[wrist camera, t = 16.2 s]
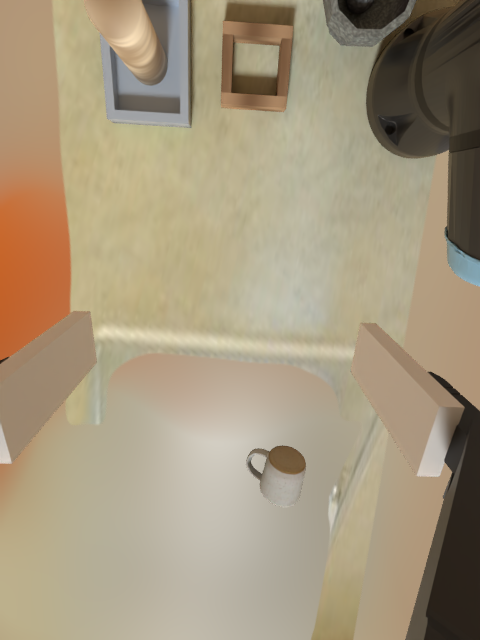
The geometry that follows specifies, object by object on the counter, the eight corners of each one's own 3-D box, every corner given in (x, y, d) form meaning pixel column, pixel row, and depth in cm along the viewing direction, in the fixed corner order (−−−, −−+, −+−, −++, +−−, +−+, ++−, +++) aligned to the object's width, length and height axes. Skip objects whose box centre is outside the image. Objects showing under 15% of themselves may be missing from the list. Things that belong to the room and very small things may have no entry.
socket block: (290, 33, 39) (293, 25, 37) (283, 111, 42) (286, 108, 40) (223, 29, 39) (223, 20, 37) (221, 107, 42) (220, 103, 40)
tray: (190, 0, 38) (187, -13, 35) (191, 127, 42) (188, 123, 40) (103, -7, 37) (95, -20, 35) (114, 122, 42) (107, 118, 40)
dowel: (166, 40, 38) (138, -32, 26) (168, 86, 40) (141, 39, 28) (127, 38, 38) (80, -36, 26) (130, 84, 40) (87, 35, 28)
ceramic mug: (303, 444, 62) (311, 476, 55) (295, 476, 65) (302, 510, 58) (249, 438, 61) (250, 470, 54) (243, 471, 64) (244, 505, 57)
